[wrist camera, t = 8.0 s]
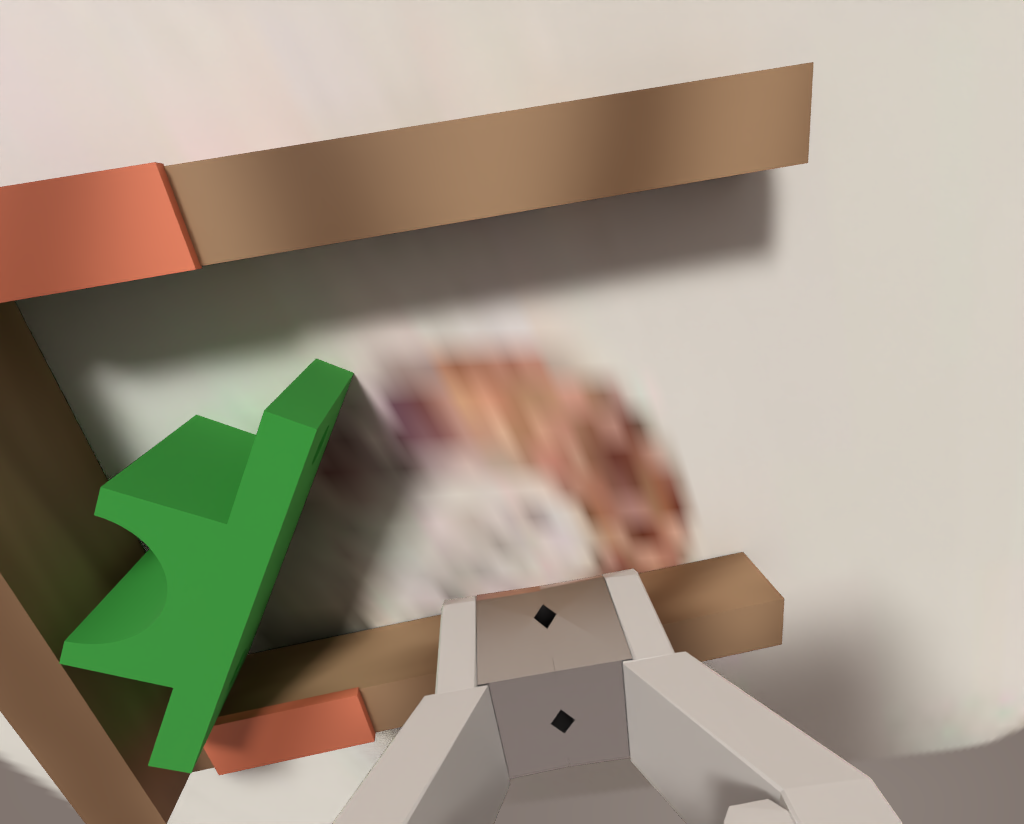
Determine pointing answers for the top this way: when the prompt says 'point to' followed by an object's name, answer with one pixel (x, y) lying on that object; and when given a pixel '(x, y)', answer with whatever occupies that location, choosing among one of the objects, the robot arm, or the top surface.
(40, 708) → the guide channel
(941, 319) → the top surface
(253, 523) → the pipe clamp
